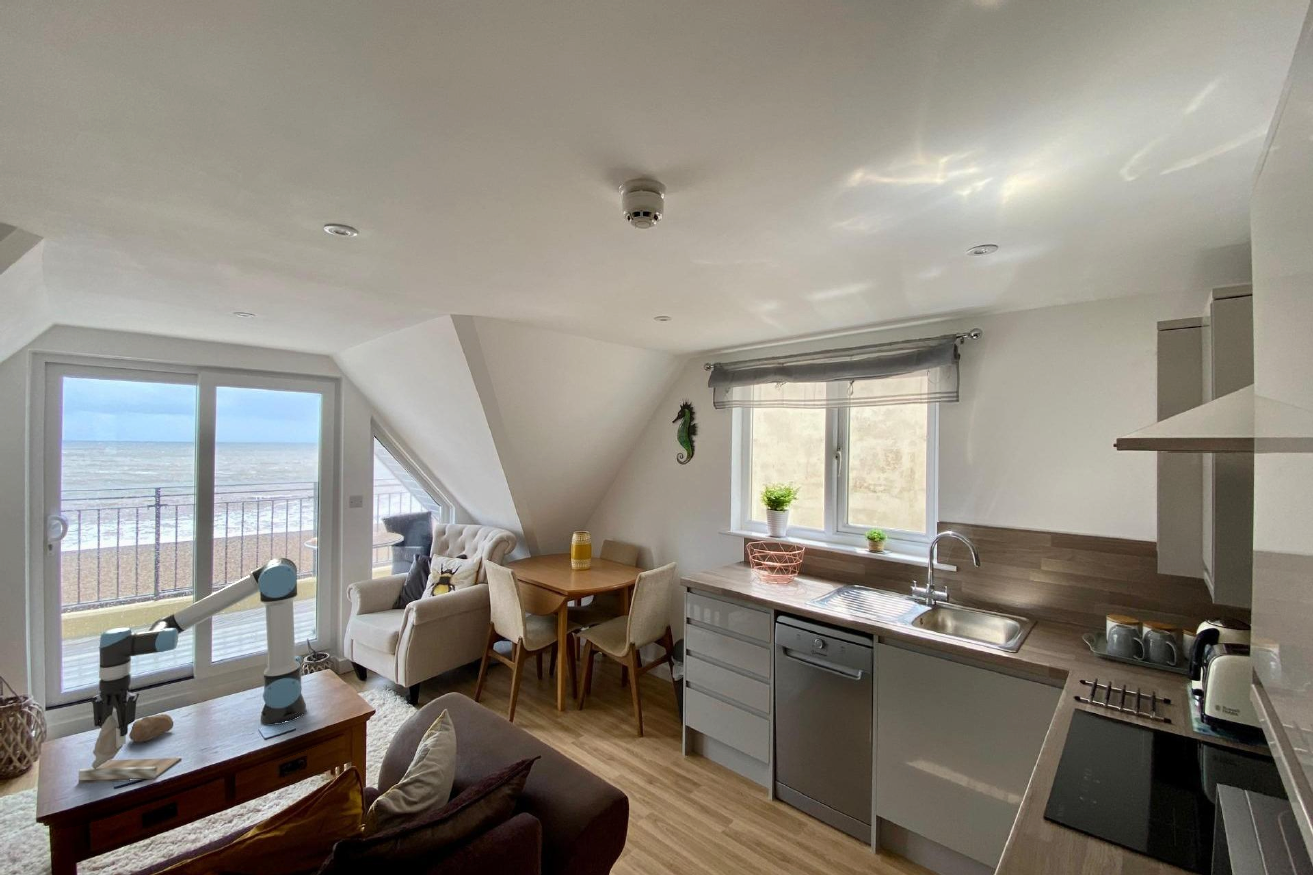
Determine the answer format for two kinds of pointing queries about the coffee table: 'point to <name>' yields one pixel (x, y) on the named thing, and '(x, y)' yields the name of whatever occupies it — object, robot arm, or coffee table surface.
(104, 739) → the artifact
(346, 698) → the coffee table surface
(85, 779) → the plank
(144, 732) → the stone
